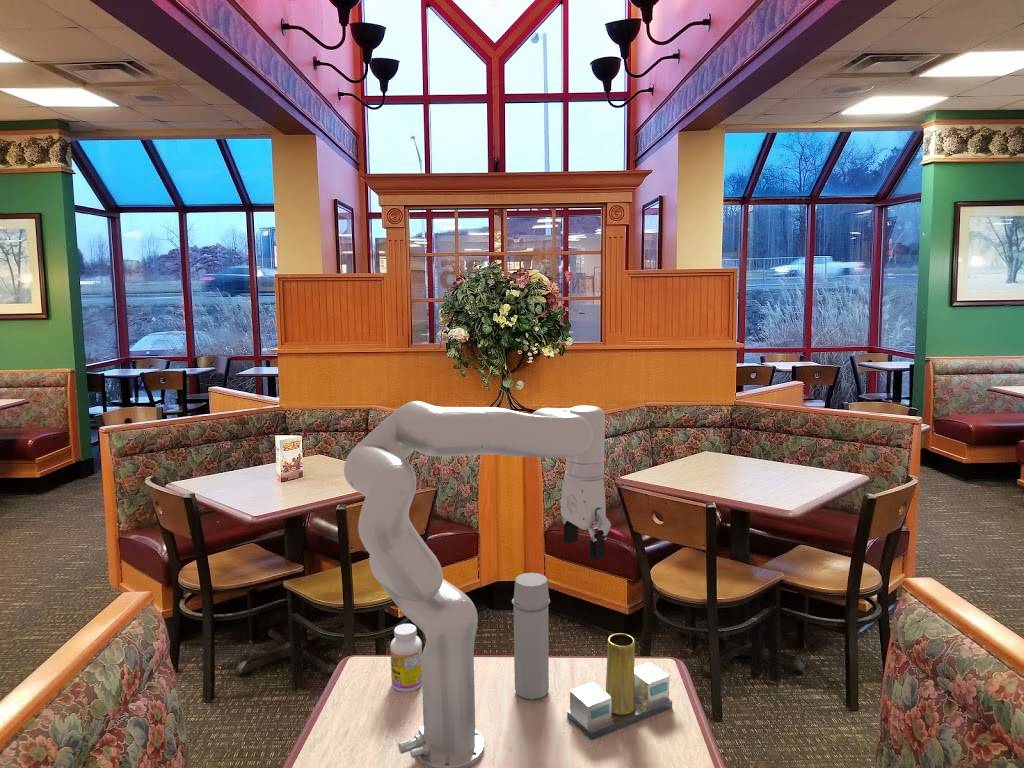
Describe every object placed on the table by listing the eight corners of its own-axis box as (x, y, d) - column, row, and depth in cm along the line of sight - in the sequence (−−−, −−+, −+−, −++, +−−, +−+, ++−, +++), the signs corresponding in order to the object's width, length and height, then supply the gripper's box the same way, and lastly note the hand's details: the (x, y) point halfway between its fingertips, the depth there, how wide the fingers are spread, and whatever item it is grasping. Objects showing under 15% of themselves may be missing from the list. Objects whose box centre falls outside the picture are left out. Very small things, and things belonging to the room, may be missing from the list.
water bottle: (551, 701, 150) (550, 587, 146) (513, 702, 150) (511, 587, 146) (549, 676, 159) (548, 568, 155) (513, 676, 159) (511, 568, 155)
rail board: (590, 740, 138) (591, 708, 137) (567, 717, 145) (567, 687, 144) (672, 707, 147) (672, 678, 146) (646, 688, 154) (646, 659, 153)
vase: (634, 698, 148) (636, 632, 146) (636, 716, 142) (637, 648, 140) (604, 696, 149) (605, 631, 147) (604, 714, 143) (605, 646, 141)
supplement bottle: (388, 680, 158) (385, 625, 156) (417, 672, 161) (415, 618, 159) (396, 696, 152) (394, 639, 150) (427, 688, 155) (425, 632, 153)
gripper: (546, 460, 151) (545, 539, 154) (592, 482, 136) (590, 569, 139) (577, 456, 154) (576, 533, 157) (626, 477, 139) (623, 562, 142)
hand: (583, 550), depth 148 cm, fingers open, 9 cm apart
